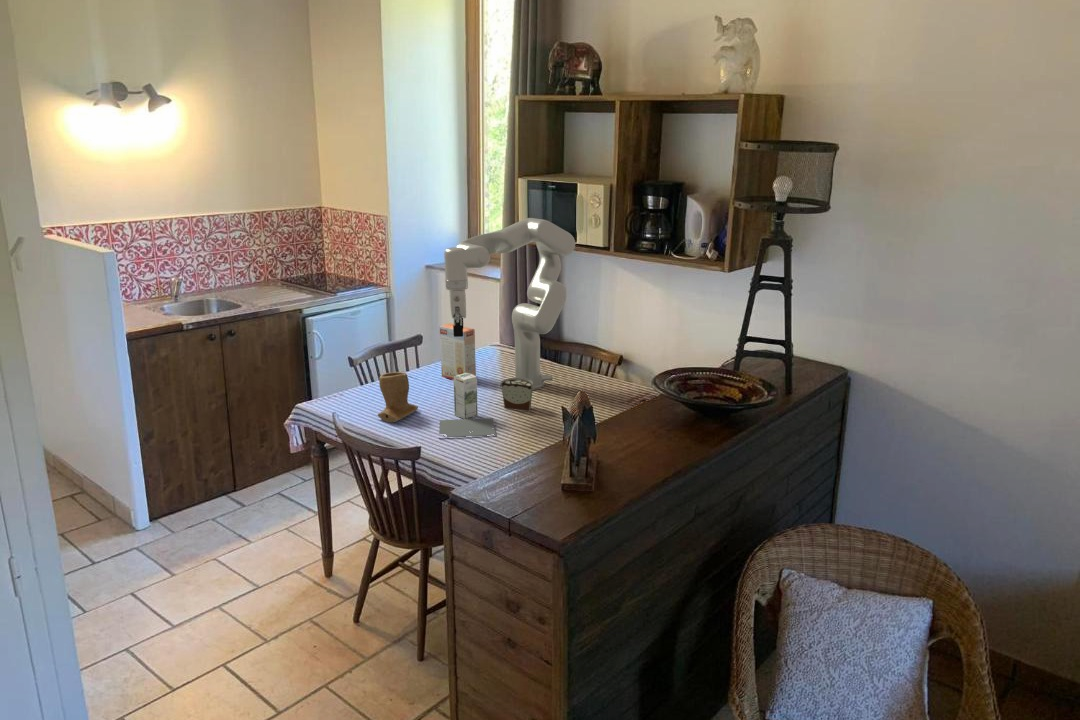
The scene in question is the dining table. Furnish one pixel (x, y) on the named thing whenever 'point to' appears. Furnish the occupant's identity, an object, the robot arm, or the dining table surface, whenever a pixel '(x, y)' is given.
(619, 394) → the dining table surface
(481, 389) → the dining table surface
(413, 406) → the stone cup
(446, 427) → the mat
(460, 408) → the syrup box
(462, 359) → the cracker box
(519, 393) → the food container
